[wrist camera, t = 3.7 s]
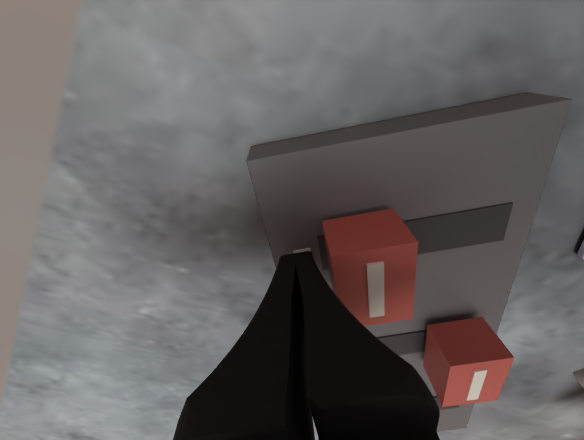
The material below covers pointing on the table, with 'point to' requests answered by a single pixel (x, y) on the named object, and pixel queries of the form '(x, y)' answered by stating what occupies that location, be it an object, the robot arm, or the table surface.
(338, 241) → the switch
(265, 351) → the robot arm
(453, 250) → the slider switch panel
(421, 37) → the table surface
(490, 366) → the switch
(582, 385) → the toy llama
